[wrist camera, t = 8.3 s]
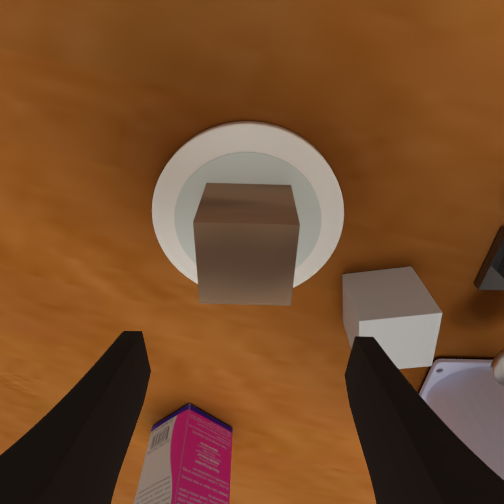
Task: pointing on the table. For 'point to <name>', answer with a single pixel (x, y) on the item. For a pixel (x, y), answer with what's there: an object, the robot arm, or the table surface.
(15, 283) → the table surface
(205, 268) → the walnut block
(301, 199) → the dish
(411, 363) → the grey block
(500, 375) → the balance
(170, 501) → the supplement box
